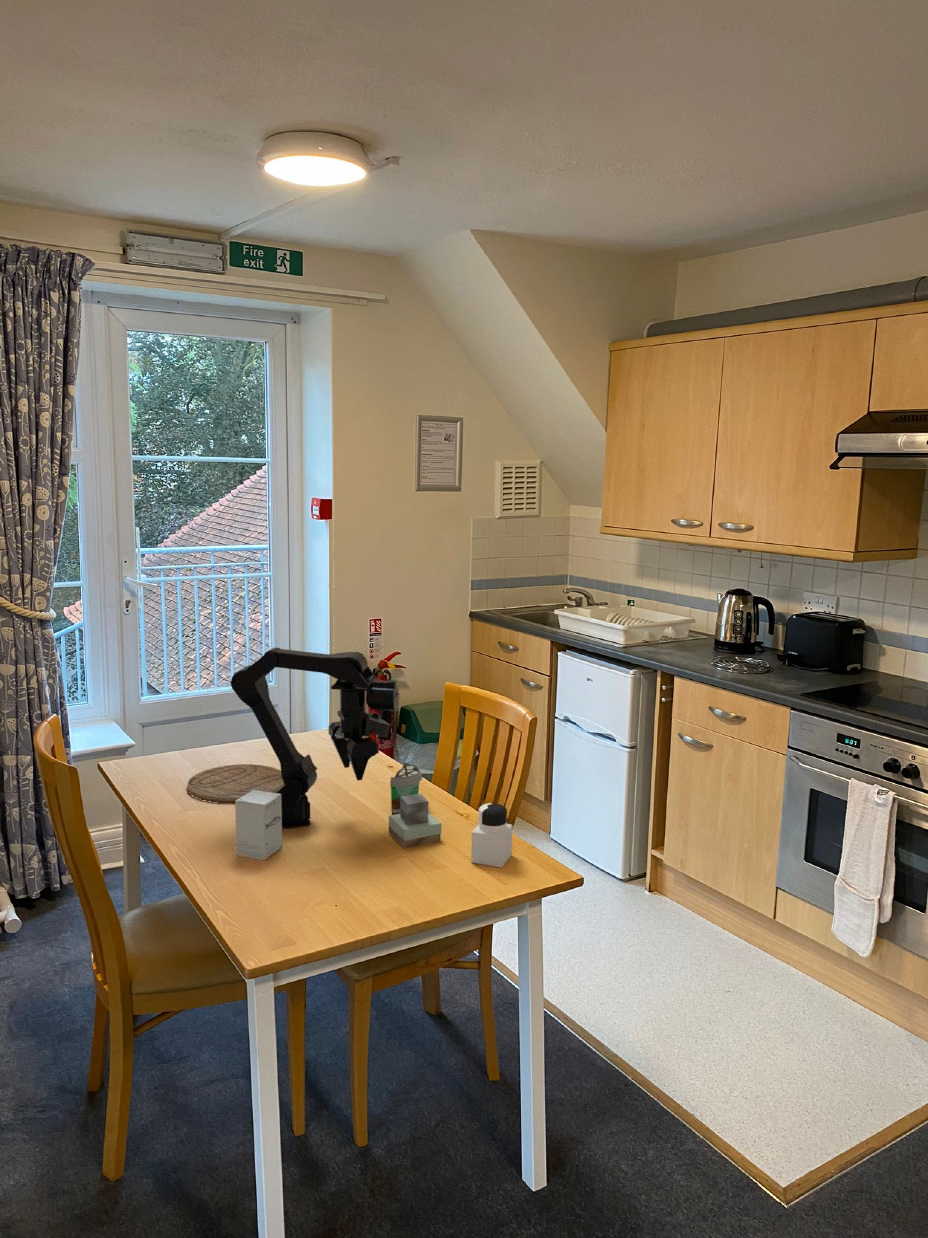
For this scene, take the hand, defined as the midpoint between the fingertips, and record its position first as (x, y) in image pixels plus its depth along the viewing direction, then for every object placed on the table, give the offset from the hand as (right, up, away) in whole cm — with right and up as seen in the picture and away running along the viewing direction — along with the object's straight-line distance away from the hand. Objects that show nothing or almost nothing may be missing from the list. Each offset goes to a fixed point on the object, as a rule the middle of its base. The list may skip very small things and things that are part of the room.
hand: (353, 773), depth 215 cm
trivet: (-33, -8, +27) cm, 44 cm away
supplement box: (-19, -15, -12) cm, 27 cm away
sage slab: (+14, -12, -3) cm, 19 cm away
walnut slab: (+14, -15, -3) cm, 21 cm away
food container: (+12, -11, +14) cm, 21 cm away
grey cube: (+14, -10, -4) cm, 18 cm away
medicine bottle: (+32, -16, -13) cm, 38 cm away
